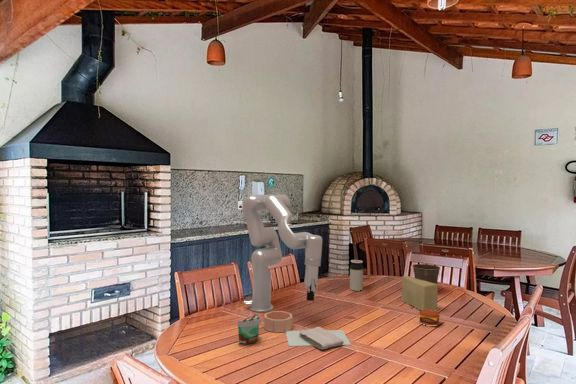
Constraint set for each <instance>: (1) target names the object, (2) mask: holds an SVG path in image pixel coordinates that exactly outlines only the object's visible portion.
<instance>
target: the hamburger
mask: <svg viewBox="0 0 576 384" xmlns="http://www.w3.org/2000/svg"><path fill="white" fill-rule="evenodd" d="M418 314H419V315H418V316H417V318H419V321H418V322H420V323H422V324H425V325H438V324H439V325H440V322H439V321H440V317H441V314H440V313H439V312H438V311H434V310H430V309H424V310H422V311H420V310H419V313H418ZM420 323H419V324H420ZM422 324H421V325H422Z"/></svg>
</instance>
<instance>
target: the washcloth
mask: <svg viewBox="0 0 576 384" xmlns="http://www.w3.org/2000/svg"><path fill="white" fill-rule="evenodd" d="M326 330H327V329H324V328H323V327H321V326H316V327H314V328H309V329H308V328H306V329H303V330H299V331H300V333H299V335H300V337H301V338H302V339H304V340H306V341H307V342H309V343H310V344H312V345H314V346H313V347H316V348H317V349H319V350H327V349H330V348H334V347H338V346H343V345H342V344H343V343H344V341H343V340H342V339H341V338H339V337H337V336H336V335H334V334H332V333H330V332H329V331H326Z"/></svg>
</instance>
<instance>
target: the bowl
mask: <svg viewBox="0 0 576 384" xmlns="http://www.w3.org/2000/svg"><path fill="white" fill-rule="evenodd" d="M263 318H264V320H263V321H264V322H263V323H264V324H263V329H264V330H265V331H266V332H270V333H274V334H278V333H279V334H281V333H283V334H284V333H286V331H292V329H293V314H292V313H291V312H289V311H288V312H287V311H284V310H271V311H268V312H264V317H263Z"/></svg>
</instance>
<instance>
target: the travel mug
mask: <svg viewBox="0 0 576 384" xmlns="http://www.w3.org/2000/svg"><path fill="white" fill-rule="evenodd" d="M350 263H351V264H350V265H349V290H350V289H351V291H352V290H355V291H354V292H361V291H363V287H364V285H363V281H364V265H363V263H364V262H363V260H359V259H351V260H350ZM360 290H361V291H360Z"/></svg>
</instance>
